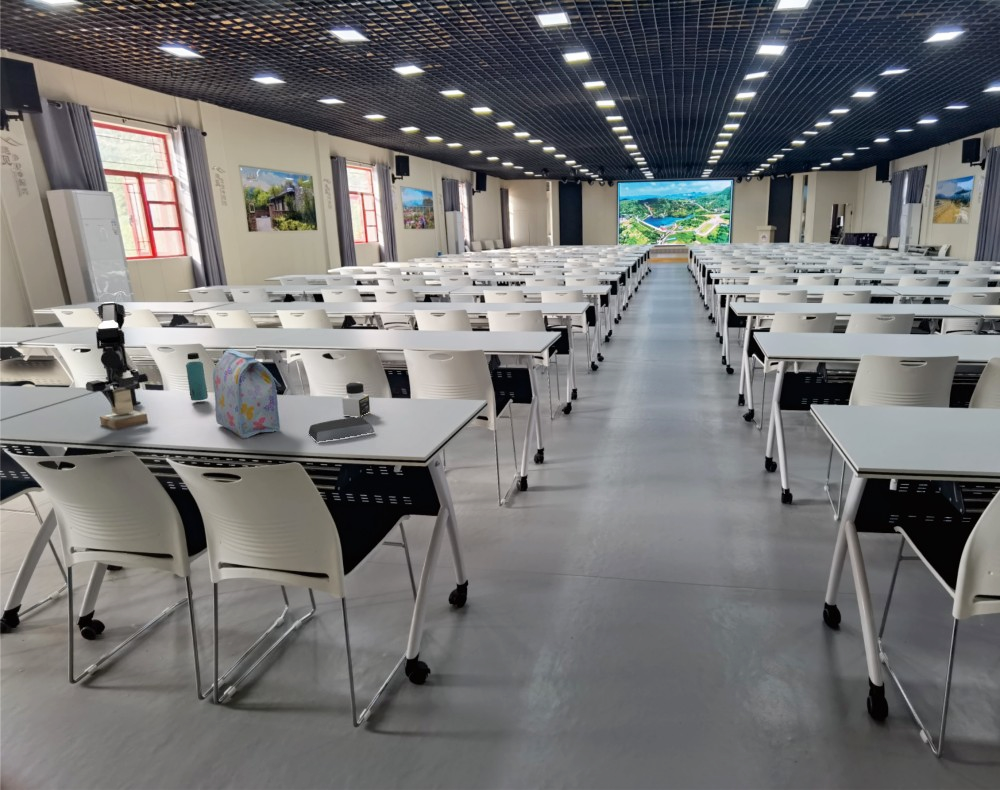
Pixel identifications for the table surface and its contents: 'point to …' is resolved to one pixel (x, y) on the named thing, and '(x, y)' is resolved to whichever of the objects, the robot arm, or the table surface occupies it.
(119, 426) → the picture frame
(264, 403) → the lunch bag
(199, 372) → the beverage bottle
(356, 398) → the medicine bottle
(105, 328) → the robot arm
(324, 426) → the external hard drive
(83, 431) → the table surface
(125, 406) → the oak block
